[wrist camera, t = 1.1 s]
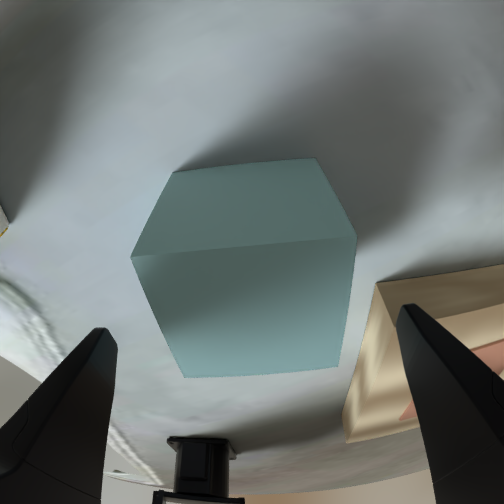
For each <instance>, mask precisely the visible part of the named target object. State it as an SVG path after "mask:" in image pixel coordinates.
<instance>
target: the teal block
mask: <svg viewBox="0 0 504 504" xmlns="http://www.w3.org/2000/svg"><path fill="white" fill-rule="evenodd" d="M356 246H357V234H356V232H355V230H354V228H353V226H352V224H351V222H350V220H349V219H348V217H347V215H346V213H345V211H344V209H343V207H342V205H341V203H340V201H339V200H338V198H337V196H336V194H335V192H334V190H333V189H332V187H331V185H330V183H329V181H328V180H327V178H326V176H325V174H324V173H323V171H322V169H321V167H320V166H319V164H318V162H317V160H316V159H315V158H306V159H291V160H278V161H266V162H255V163H245V164H236V165H227V166H218V167H210V168H202V169H195V170H188V171H181V172H174V173H172V175H171V176H170V178H169V180H168V182H167V184H166V186H165V188H164V189H163V191H162V193H161V195H160V197H159V199H158V201H157V203H156V205H155V207H154V209H153V211H152V213H151V215H150V217H149V219H148V221H147V223H146V225H145V227H144V229H143V231H142V233H141V235H140V237H139V239H138V241H137V244H136V246H135V248H134V250H133V252H132V254H131V257H130V258H131V260H132V263H133V265H134V268H135V270H136V273H137V275H138V278H139V280H140V283H141V285H142V288H143V290H144V292H145V295H146V297H147V300H148V302H149V304H150V306H151V309H152V311H153V313H154V316H155V318H156V320H157V322H158V324H159V327H160V329H161V331H162V333H163V335H164V337H165V340H166V342H167V344H168V346H169V348H170V350H171V352H172V354H173V356H174V358H175V360H176V362H177V364H178V366H179V368H180V370H181V372H182V374H183V376H184V378H200V377H232V376H250V375H265V374H277V373H288V372H298V371H307V370H316V369H324V368H332V367H338V363H339V358H340V353H341V348H342V343H343V337H344V331H345V325H346V319H347V313H348V307H349V300H350V293H351V286H352V279H353V271H354V263H355V255H356Z"/></svg>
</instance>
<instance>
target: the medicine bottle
mask: <svg viewBox="0 0 504 504" xmlns="http://www.w3.org/2000/svg"><path fill="white" fill-rule="evenodd" d="M8 227H9V222H8V219H7V217H6V215H5V213H4V211H3V209H2V207H1V205H0V237H1V236H2V235H3V234H4V232H5V231H6V230H7V229H8Z"/></svg>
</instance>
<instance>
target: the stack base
mask: <svg viewBox="0 0 504 504" xmlns="http://www.w3.org/2000/svg"><path fill="white" fill-rule="evenodd" d="M408 303H415V304H417V305H418V306H419V307H421V308H422V309H423V310H424V311H425V312H427V313H428V314H429V315H430V316H431V317H433V318H434V319H435V320H436V321H437V322H439V323H440V324H441V325H442V326H443V327H444V328H446V329H447V330H448V331H449V332H450V333H451V334H453V335H454V336H455V337H456V338H457V339H458V340H460V341H461V342H462V343H463V344H464V345H465V346H466V347H468V348H469V349H470V350H471V351H472V352H473V353H474V354H475V355H477V356H478V357H479V358H480V359H481V360H482V361H483V362H484V363H485V364H486V365H488V366H489V367H490V368H491V369H492V371H494V372H495V373H496V374H498V375H499V376H500V377H501V378H502V379H503V380H504V264H501V265H495V266H490V267H484V268H478V269H471V270H465V271H459V272H452V273H446V274H439V275H432V276H425V277H418V278H411V279H404V280H396V281H388V282H381V283H376V284H375V289H374V294H373V299H372V303H371V308H370V312H369V317H368V321H367V325H366V329H365V333H364V337H363V341H362V345H361V349H360V353H359V357H358V360H357V364H356V368H355V371H354V375H353V378H352V381H351V385H350V388H349V391H348V395H347V398H346V401H345V404H344V407H343V410H342V413H341V417H342V422H343V428H344V434H345V439H346V444H347V443H352V442H358V441H363V440H368V439H373V438H377V437H382V436H386V435H390V434H394V433H398V432H402V431H406V430H410V429H413V428H417V427H420V425H419V421H418V417H417V413H416V409H415V406H414V402H413V399H412V395H411V392H410V388H409V385H408V382H407V378H406V375H405V371H404V366H403V361H402V356H401V351H400V346H399V341H398V337H397V332H396V321H397V317H398V314H399V311H400V308H401V306H402V305H403V304H408Z"/></svg>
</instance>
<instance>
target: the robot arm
mask: <svg viewBox="0 0 504 504" xmlns="http://www.w3.org/2000/svg"><path fill="white" fill-rule="evenodd" d="M396 332H397V337H398V341H399V346H400V351H401V356H402V361H403V366H404V371H405V375H406V378H407V382H408V385H409V388H410V392H411V395H412V399H413V402H414V406H415V409H416V413H417V417H418V421H419V425H420V428H421V432H422V436H423V441H424V445H425V449H426V453H427V458H428V462H429V467H430V472H431V476H432V482H433V488H434V493H435V499H436V504H504V380H503V379H502V378H501V377H500V376H499V375H498V374H496V373H495V372H494V371H492V369H491V368H490V367H489V366H488V365H486V364H485V363H484V362H483V361H482V360H481V359H480V358H479V357H478V356H477V355H475V354H474V353H473V352H472V351H471V350H470V349H469V348H468V347H466V346H465V345H464V344H463V343H462V342H461V341H460V340H458V339H457V338H456V337H455V336H454V335H453V334H451V333H450V332H449V331H448V330H447V329H446V328H444V327H443V326H442V325H441V324H440V323H439V322H437V321H436V320H435V319H434V318H433V317H431V316H430V315H429V314H428V313H427V312H425V311H424V310H423V309H422V308H421V307H419V306H418V305H417V304H415V303H408V304H403V305H402V306H401V308H400V311H399V314H398V317H397V321H396ZM117 353H118V347H117V343H116V342H115V340H114V338H113V337H112V335H111V333H110V332H109V330H108V329H107V328H94V329H93V330H92V331H91V332H90V333H89V334H88V335H87V336H86V337H85V338H84V339H83V340H82V341H81V342H80V343H79V344H78V345H77V346H76V347H75V349H74V350H73V351H72V352H71V353H70V354H69V355H68V356H67V357H66V358H65V359H64V360H63V361H62V362H61V363H60V364H59V365H58V366H57V368H56V369H55V370H54V371H53V372H52V373H51V374H50V375H49V376H48V377H47V378H46V379H45V381H44V382H43V383H42V384H41V385H40V386H39V387H38V388H37V389H36V390H35V392H34V393H33V394H32V395H31V396H30V397H29V398H28V400H27V401H26V402H25V403H24V404H23V405H22V406H21V407H20V408H19V409H18V411H17V412H16V413H15V414H14V415H13V416H12V417H11V418H10V419H9V420H8V421H7V422H6V423H5V424H4V425H3V426H2V427H1V428H0V504H101V500H100V499H101V490H102V478H103V468H104V460H105V459H104V458H105V451H106V443H107V436H108V428H109V422H110V415H111V409H112V403H113V397H114V389H115V377H116V364H117ZM167 443H168V444H169V445H170V446H171V447H172V448H173V449H174V450H175V451H176V452H177V454H176V464H175V475H174V487H173V492H166V491H164V490H159V491H154V492H153V502H152V504H166V501H167V502H174V503H181V504H245V499H244V498H229V460H235V459H236V454H235V452H234V450H233V449H232V447H231V445H230V443H229V441H228V440H201V439H175V438H167Z"/></svg>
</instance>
